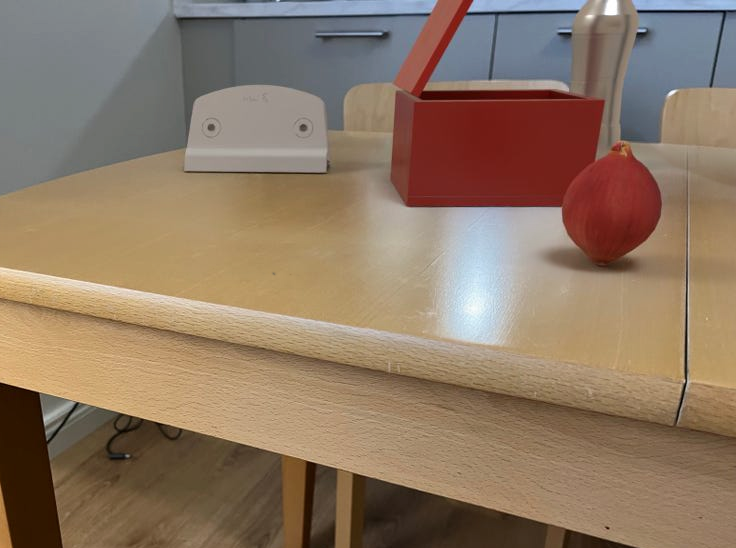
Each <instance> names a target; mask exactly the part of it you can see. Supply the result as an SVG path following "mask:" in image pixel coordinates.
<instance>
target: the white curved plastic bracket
mask: <svg viewBox="0 0 736 548" xmlns="http://www.w3.org/2000/svg"><path fill="white" fill-rule="evenodd" d="M328 126H329V125H328V115H327V107H326V103H325V102H324V100H323V99H322V98H320V97H319V96H317V95H315V94H312V93H309V92H306V91H303V90H299V89H296V88H292V87H287V86H280V85H275V84H274V85H273V84H272V85H270V84H246V85H245V84H244V85H236V86H231V87H226V88H223V89H219V90H215V91H212V92H209V93H207V94H203V95H201V96H199V97H197V98H196V99H195V101H194V102H193V106H192V111H191V118H190V125H189V131H188V138H187V143H186V144H187V145H186V149H185V154H184V162H183V163H184V165H183V166H184V167H183V168H184V169H183V171H184V172H185V173H187V172H188V173H257V174H258V173H260V174H261V173H262V174H264V173H265V174H266V173H267V174H269V173H270V174H271V173H272V174H327V173H328V168H329V167H330V166H332V161H331V160H332V159H331V150H330V149H331V148H330V137H329V128H328Z"/></svg>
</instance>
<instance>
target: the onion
mask: <svg viewBox="0 0 736 548" xmlns="http://www.w3.org/2000/svg"><path fill="white" fill-rule="evenodd" d="M662 201H663V200H662V192H661V190H660V186H659V184H658V182H657V180H656V178H655V177H654V175H653V174H652V172H651V171H650V170H649V169H648V167H647V166H646V165H644V163H642V162H641V161H640V160H638V159H637V158H636V157H635V156H634V154H633V151H632V148H631V143H630V142H628V141H626V140H620V141H618V142H616V143H615V144H614V145H613V146H611V151H610V152H609V153H608V154H607V155H606V156H604V157H602V158H600V159H599V160H597V161H595V162H593V163H592V164H590V165H589V166H587V167H586V168H585V169H584V170H583V171H582V172H580V173H579V174H578V175H577V177H576V178H575V179H574V180H573V181H572V183H571V184H570V186H569V187H568V189H567V192H566V194H565V196H564V200H563V205H562V206H561V220H562V224H563V226H564V228H565V229H564V230H565V231H566V234H567V236H568V237H569V239H571V241H572V242H573V243H574V244H575V246H577V248H578V249H580V250H581V251H582V252H583V253H584V254H585V255H586V256H587V257H588V259H589V260H590V261H591V262H592V263H594V264H595V265H597V266H607V265H610V264H612V263H613V262H615V261H617V260H619V259H620V258H622V257H624V256H627V254H629V253H630V252H633V251H634V250H635V249H637V248H638V247H639V246H641V245H642V244H644V243H645V242H646V241H647V240H648V239H649V237H650V236H652V234H653V233H654V231H655V230H656V228H657V226H658V223H659V221H660V219H661V217H662V207H663V202H662Z"/></svg>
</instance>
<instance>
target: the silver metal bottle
mask: <svg viewBox="0 0 736 548" xmlns="http://www.w3.org/2000/svg"><path fill="white" fill-rule="evenodd" d="M639 26H640V19H639V12H638V10H637V9H636V6H635V3H634V2H633V0H587V1H585V3H584V4H583V5H582V6H581V8H580V9H579V11H578V12H577V14H576V15H575V17H574V19H573V21H572V24H571V36H570V39H571V63H570V74H569V75H570V80H569V86H568V92H572V93H576V94H581V95H585V96H590V97H594V98H599V99H603V100H605V104H604V110H603V116H602V122H601V128H600V134H599V140H598V146H597V152H596V158H595V161H597V160H599V159H600V158H602V157H604V156H606V155H607V154H608V153H609V152H610V151H611V146H613V145H614V144H615V143H616V142H618V141H621V129H622V128H621V123H620V120H621V111H622V110H621V109H622V108H621V107H622V99H623V97H622V96H623V89H624V84H625V81H624V79H625V77H626V74H627V69H628V65H629V61H630V57H631V54H632V51H633V48H634V44H635V41H636V38H637V33H638V31H639V28H640V27H639Z"/></svg>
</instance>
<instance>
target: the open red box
mask: <svg viewBox="0 0 736 548" xmlns="http://www.w3.org/2000/svg"><path fill="white" fill-rule="evenodd" d="M604 104H605V100H603V99H599V98H594V97H590V96H585V95H581V94H576V93H572V92H569V91H566V90H562V89H557V88H526V89H525V88H522V89H521V88H519V89H517V88H516V89H513V88H512V89H511V88H510V89H423V91H422V93H421V95H420V96H419V98H418V97H416V96H414V95H412V94H410V93H409V92H407V91H405V90H403V89H400V90H395V97H394V113H393V129H392V130H393V131H392V146H391V163H390V176H389V177H390V178H389V179H390V183H391V184H392V185H393V187H394V188H395V190H396V191H397V193H398V194H399V196H400V198H401V199H402V200H403V202H404V204H405V206H406V207H562V205H563V200H564V196H565V194H566V192H567V189H568V187H569V186H570V184H571V183H572V181H573V180H574V179H575V178H576V177H577V175H578V174H579V173H580V172H582V171H583V170H584V169H585V168H586V167H587V166H589V165H590V164H592V163H593V162H595V158H596V152H597V146H598V140H599V134H600V128H601V122H602V116H603V110H604Z"/></svg>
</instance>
